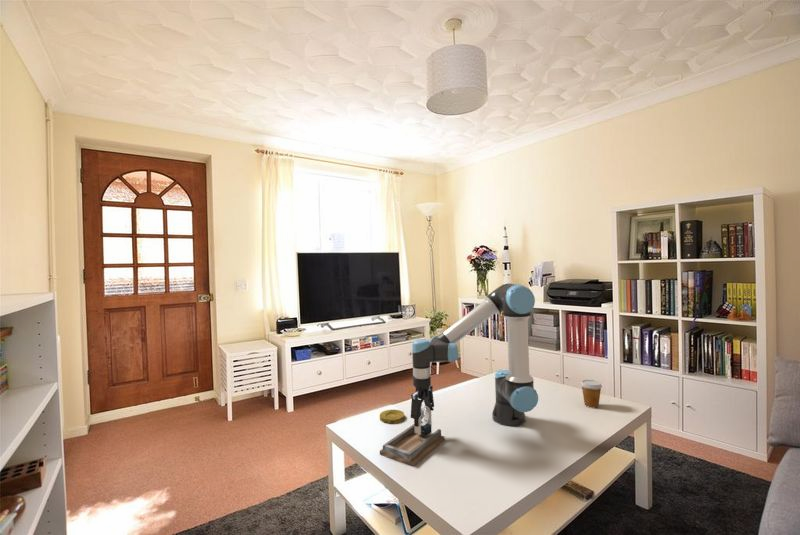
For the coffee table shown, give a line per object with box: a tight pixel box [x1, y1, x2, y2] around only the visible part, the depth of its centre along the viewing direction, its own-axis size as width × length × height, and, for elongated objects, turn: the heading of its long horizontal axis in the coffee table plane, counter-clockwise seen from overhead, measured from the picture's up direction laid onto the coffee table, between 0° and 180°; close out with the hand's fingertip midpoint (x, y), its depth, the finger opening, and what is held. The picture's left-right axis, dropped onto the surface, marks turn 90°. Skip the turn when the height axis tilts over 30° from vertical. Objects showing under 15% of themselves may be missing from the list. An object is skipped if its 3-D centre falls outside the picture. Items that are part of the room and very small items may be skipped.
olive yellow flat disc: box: [379, 409, 405, 424], centre depth 183 cm, size 12×12×2 cm
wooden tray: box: [379, 423, 445, 467], centre depth 154 cm, size 16×24×4 cm, turn 145°
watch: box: [419, 404, 433, 436], centre depth 161 cm, size 6×8×11 cm
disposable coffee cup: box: [580, 379, 603, 408], centre depth 191 cm, size 10×10×12 cm
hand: (423, 429), depth 161 cm, fingers closed on watch, 8 cm apart
